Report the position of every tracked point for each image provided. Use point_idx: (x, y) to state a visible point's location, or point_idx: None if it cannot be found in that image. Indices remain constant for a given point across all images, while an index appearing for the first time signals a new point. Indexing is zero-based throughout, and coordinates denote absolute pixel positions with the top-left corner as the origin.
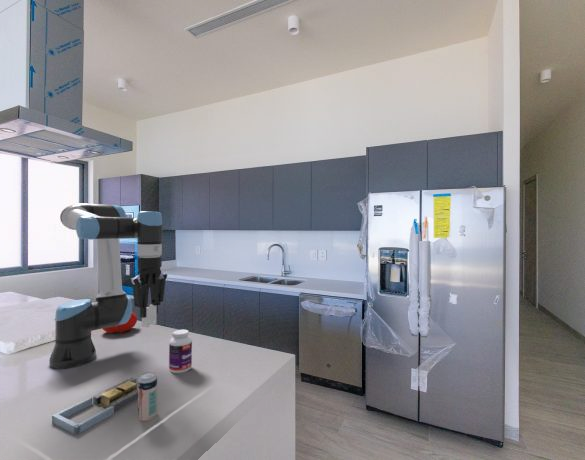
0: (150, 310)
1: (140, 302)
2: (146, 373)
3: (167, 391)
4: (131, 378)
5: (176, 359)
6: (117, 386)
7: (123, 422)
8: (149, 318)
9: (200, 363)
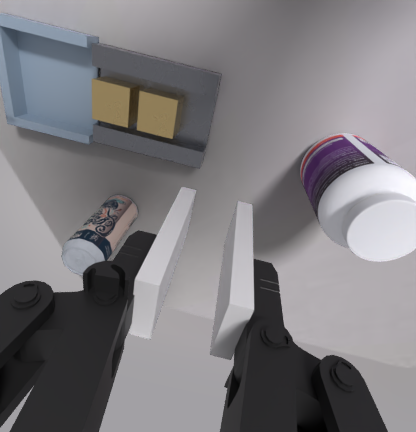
0: (228, 276)
1: (4, 385)
2: (87, 251)
3: (214, 194)
4: (212, 79)
5: (307, 190)
6: (140, 91)
7: (93, 175)
8: (234, 223)
9: None
